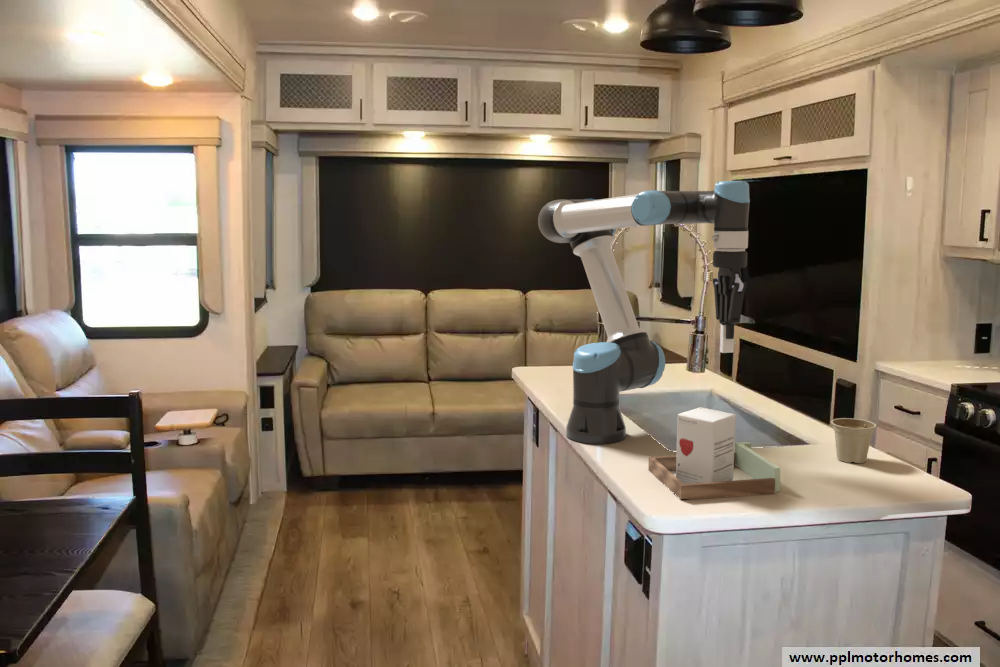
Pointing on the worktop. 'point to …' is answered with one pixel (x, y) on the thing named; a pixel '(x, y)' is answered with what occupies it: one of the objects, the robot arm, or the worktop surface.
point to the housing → (707, 489)
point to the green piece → (756, 464)
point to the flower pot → (852, 439)
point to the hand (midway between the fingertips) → (726, 352)
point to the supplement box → (705, 446)
